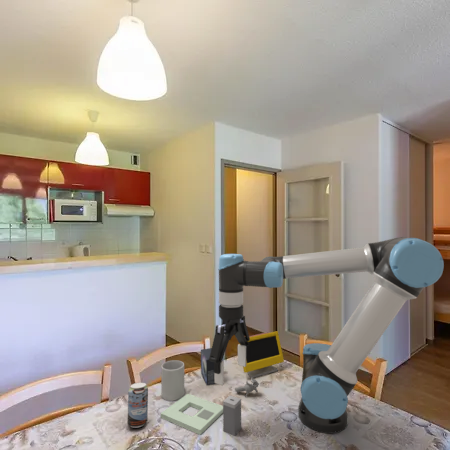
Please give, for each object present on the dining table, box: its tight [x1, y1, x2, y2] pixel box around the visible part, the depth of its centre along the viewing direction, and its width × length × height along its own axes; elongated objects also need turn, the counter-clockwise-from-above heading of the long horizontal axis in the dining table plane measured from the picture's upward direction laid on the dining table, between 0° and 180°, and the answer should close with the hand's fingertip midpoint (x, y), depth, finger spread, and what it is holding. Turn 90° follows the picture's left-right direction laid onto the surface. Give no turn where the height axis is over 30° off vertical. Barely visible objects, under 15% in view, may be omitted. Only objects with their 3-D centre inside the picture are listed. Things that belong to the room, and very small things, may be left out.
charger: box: [222, 394, 242, 437], centre depth 93 cm, size 4×4×9 cm
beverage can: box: [126, 382, 149, 429], centre depth 96 cm, size 6×7×12 cm
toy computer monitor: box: [238, 330, 285, 379], centre depth 131 cm, size 20×8×16 cm, turn 119°
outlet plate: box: [160, 393, 223, 436], centre depth 101 cm, size 16×14×2 cm
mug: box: [160, 359, 186, 402], centre depth 114 cm, size 12×8×11 cm
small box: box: [200, 347, 217, 386], centre depth 125 cm, size 11×6×10 cm, turn 17°
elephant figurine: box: [234, 377, 260, 398], centre depth 112 cm, size 10×6×9 cm
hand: (231, 374), depth 93 cm, fingers open, 13 cm apart
